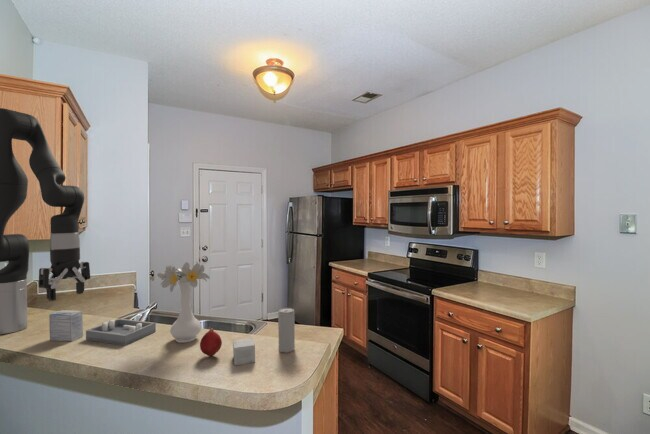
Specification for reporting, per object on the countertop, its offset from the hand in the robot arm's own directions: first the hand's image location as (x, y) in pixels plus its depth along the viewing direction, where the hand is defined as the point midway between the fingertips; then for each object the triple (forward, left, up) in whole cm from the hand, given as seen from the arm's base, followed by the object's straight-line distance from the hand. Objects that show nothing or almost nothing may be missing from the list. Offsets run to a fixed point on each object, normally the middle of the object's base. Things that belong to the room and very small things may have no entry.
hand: (66, 296), depth 104 cm
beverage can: (+72, +12, -14) cm, 74 cm away
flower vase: (+37, +10, -14) cm, 41 cm away
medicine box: (0, 0, -14) cm, 14 cm away
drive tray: (+15, +7, -14) cm, 21 cm away
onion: (+53, +2, -14) cm, 55 cm away
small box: (+63, +3, -14) cm, 64 cm away
